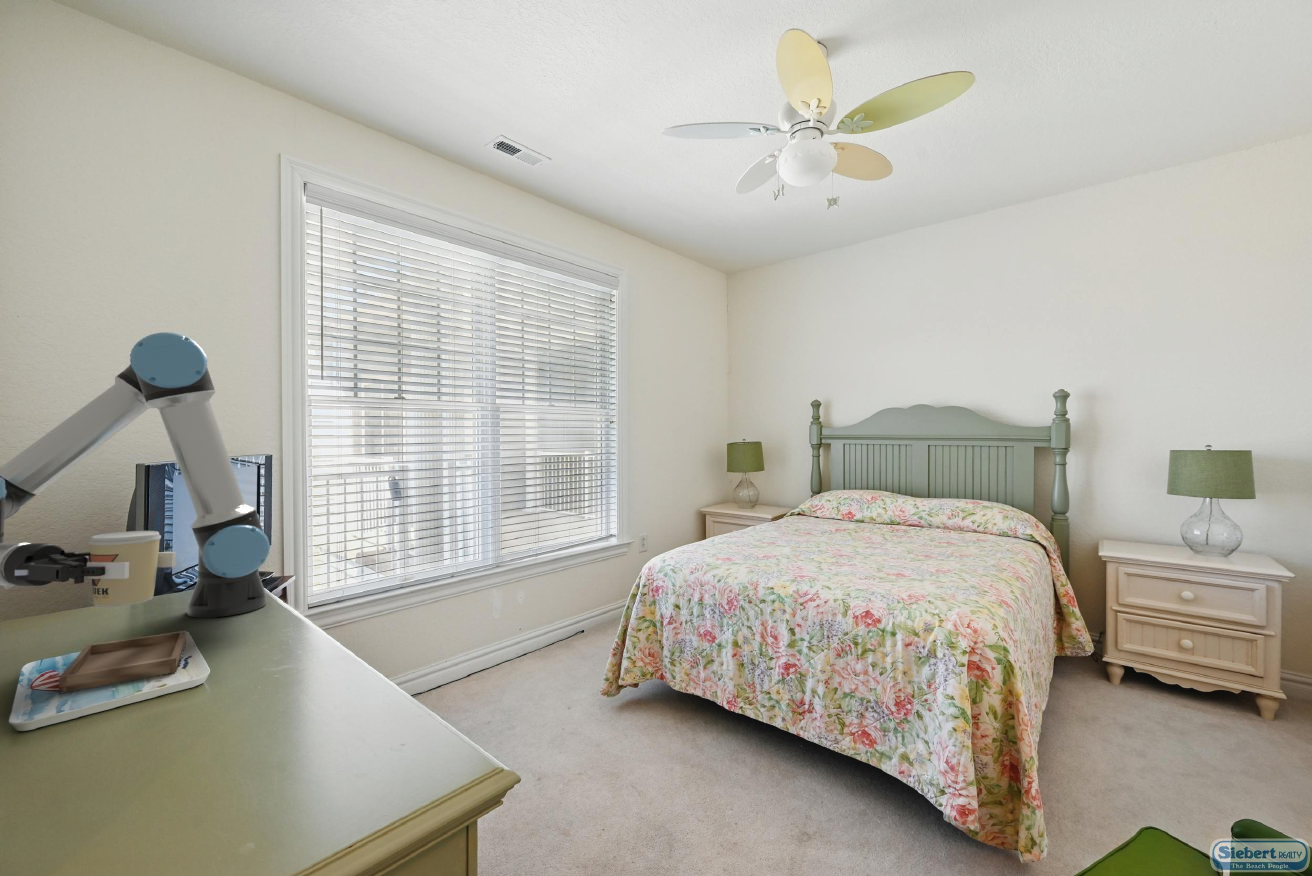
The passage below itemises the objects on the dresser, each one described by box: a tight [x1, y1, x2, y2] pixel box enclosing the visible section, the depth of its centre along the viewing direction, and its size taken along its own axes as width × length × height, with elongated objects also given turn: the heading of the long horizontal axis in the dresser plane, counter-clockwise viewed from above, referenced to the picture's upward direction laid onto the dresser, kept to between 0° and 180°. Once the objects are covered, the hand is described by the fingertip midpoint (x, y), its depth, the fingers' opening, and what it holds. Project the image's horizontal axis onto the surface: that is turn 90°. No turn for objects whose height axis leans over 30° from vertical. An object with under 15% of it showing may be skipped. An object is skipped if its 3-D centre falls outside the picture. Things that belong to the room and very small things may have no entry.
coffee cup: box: [88, 530, 162, 608], centre depth 99 cm, size 9×9×12 cm
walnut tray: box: [58, 630, 187, 693], centre depth 98 cm, size 14×18×2 cm
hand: (151, 564), depth 99 cm, fingers closed on coffee cup, 9 cm apart
